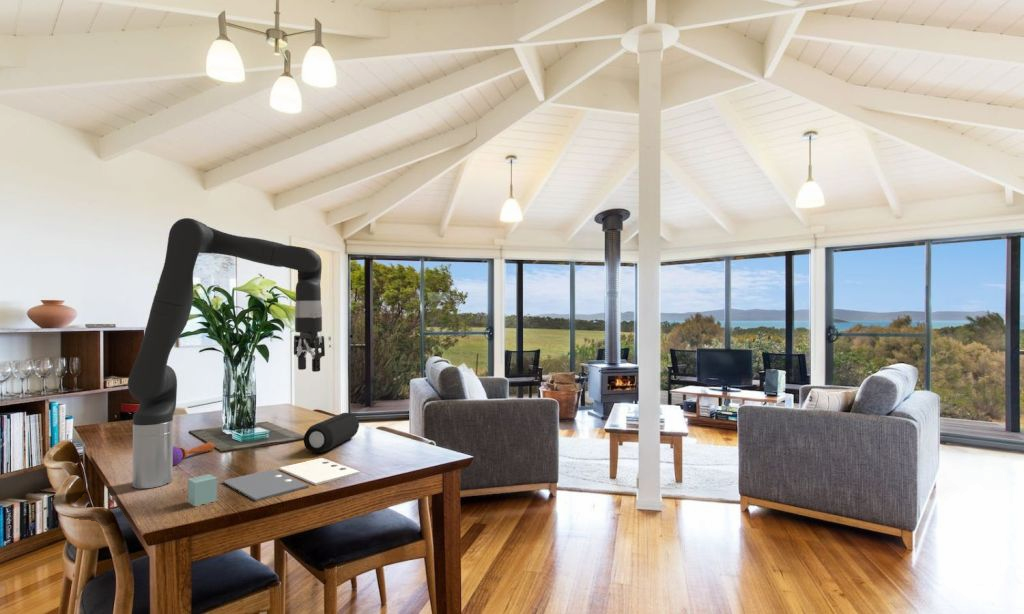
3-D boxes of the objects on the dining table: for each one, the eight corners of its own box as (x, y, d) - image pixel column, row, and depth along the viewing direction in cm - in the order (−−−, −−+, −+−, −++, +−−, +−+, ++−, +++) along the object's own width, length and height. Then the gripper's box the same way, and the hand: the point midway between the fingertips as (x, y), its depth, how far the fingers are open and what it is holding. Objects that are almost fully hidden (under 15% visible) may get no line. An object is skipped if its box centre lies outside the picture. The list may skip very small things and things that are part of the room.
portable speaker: (337, 436, 199) (337, 411, 199) (361, 437, 198) (361, 411, 198) (301, 454, 174) (301, 425, 174) (328, 456, 172) (328, 426, 172)
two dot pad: (222, 482, 145) (222, 480, 145) (272, 471, 155) (272, 469, 155) (256, 501, 130) (256, 498, 130) (308, 487, 141) (308, 484, 141)
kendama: (219, 440, 178) (174, 450, 159) (215, 457, 178) (169, 470, 158) (204, 436, 179) (157, 446, 159) (200, 453, 179) (153, 465, 159)
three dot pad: (278, 469, 157) (279, 467, 157) (321, 459, 167) (321, 457, 167) (315, 485, 142) (315, 482, 142) (359, 473, 153) (359, 471, 153)
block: (187, 502, 130) (188, 478, 130) (209, 497, 134) (209, 474, 134) (194, 507, 126) (195, 482, 127) (217, 501, 130) (217, 478, 130)
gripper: (285, 316, 156) (285, 370, 155) (308, 316, 146) (308, 373, 146) (308, 316, 161) (309, 368, 161) (332, 315, 152) (333, 370, 152)
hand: (309, 370), depth 154 cm, fingers open, 8 cm apart
